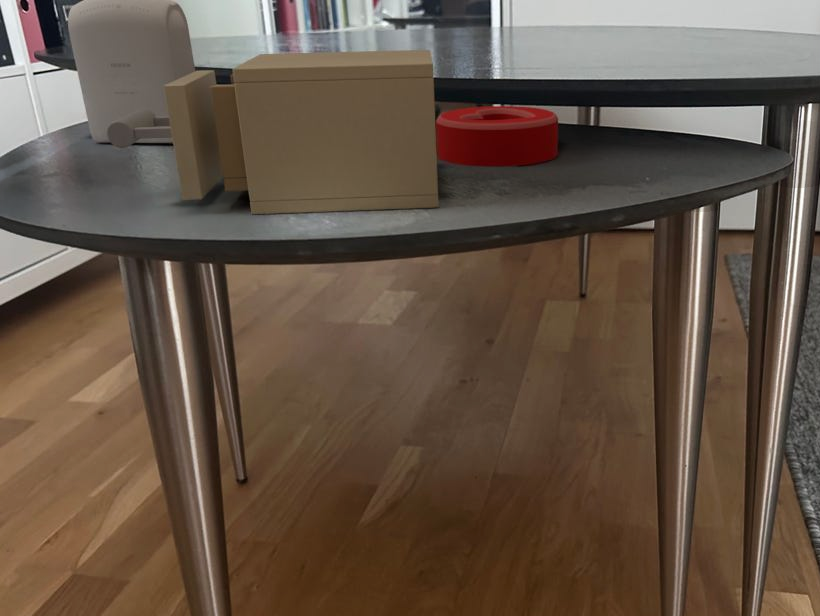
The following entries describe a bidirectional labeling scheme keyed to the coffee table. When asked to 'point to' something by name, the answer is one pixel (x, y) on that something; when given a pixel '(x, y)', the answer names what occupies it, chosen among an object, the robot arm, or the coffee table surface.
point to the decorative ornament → (497, 136)
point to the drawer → (194, 133)
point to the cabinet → (338, 131)
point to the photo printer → (128, 58)
